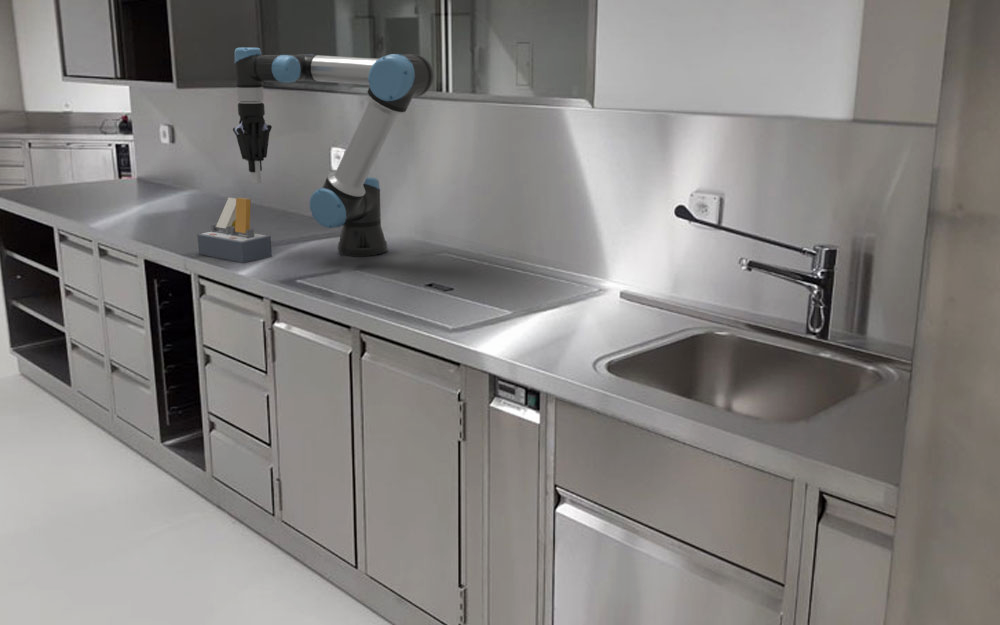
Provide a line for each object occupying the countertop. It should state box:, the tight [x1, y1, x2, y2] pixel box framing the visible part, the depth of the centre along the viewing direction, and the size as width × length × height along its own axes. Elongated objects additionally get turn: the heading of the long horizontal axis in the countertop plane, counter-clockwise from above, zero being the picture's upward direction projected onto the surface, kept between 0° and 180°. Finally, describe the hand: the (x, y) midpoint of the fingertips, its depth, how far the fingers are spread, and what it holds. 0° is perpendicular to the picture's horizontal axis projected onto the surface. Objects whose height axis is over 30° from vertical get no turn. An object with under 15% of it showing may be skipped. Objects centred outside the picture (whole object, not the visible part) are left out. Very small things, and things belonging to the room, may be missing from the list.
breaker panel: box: [197, 222, 273, 264], centre depth 279 cm, size 20×11×9 cm, turn 55°
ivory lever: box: [215, 197, 237, 232], centre depth 282 cm, size 6×2×11 cm
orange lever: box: [234, 197, 252, 235], centre depth 275 cm, size 6×2×11 cm, turn 55°
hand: (256, 182), depth 277 cm, fingers closed
